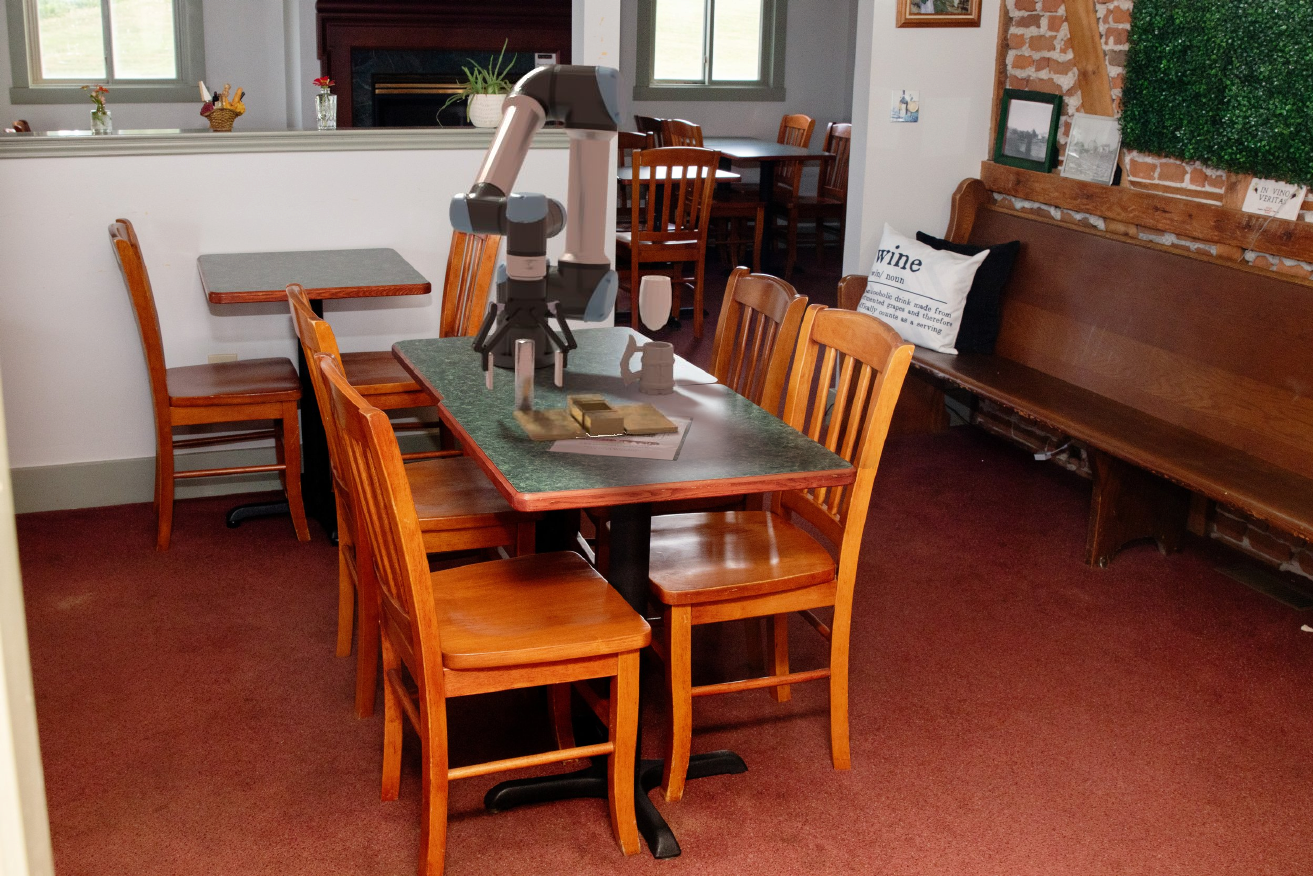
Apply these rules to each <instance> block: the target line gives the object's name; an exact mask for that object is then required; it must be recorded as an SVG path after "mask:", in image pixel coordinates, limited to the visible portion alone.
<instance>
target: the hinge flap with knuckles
mask: <svg viewBox="0 0 1313 876" xmlns="http://www.w3.org/2000/svg"><path fill="white" fill-rule="evenodd" d="M566 398H567V401H566V412H567V413H568V414H569V415H570V416H571V417H572V403H574V402H595V401H606V399H605V398H604V397H603V396H602V395H600V394H599V393H597V394H596V393H595V394H594V393H593V394H572V395H571V394H570V395H566ZM612 406H613V407H615V408H616V409H617V410H618V413H620V414H621V415H622V416H623V417H624V431H625V432H626V433H627V434H633V435H645V434H646V435H647V434H649V435H650V434H663V433H665V432H666V433H667V434H668V433H678V431H679V426H678V425H676V424H675V423H674V422H673V421H672V420H670V419H669V418H668V417H667V416H666V415H664V414H663V413H662V412H661V411H660V410H659V409H657V408H656V407H654V406H653V405H652V404H651V403H642V404H641V403H639V404H625V405H624V404H623V405H621V404H620V405H612ZM626 433H625V434H626ZM627 434H626V435H627Z"/></svg>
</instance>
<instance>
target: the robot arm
mask: <svg viewBox="0 0 1313 876" xmlns="http://www.w3.org/2000/svg"><path fill="white" fill-rule="evenodd" d="M626 86H627V85H626V82H625V79H624V77H623V74H622V73H621V71H620V70H618V69H617V68H614V67H610V66H603V65H602V66H601V65H582V64H580V65H577V64H559V63H548V64H544V65H540V66H538V67H536V68H534V69H532V70H530V71H528V72H527V73H526V74H525V75H523V76H522V77H521V78H520V79H519V80H518V81H517V82H515V84H514V85H513V86H512V87H511V88H510V90H509V91H508V92H507V94H506V95H505V97H504V100H503V102H502V105H501V115H502V117H501V119H500V121H499V124H498V126H497V129H496V130H495V131H496V132H495V133H494V136H493V138H492V140H491V143H490V144H489V147H488V150H487V151H486V154H485V157H484V158H483V161H482V163H481V166H480V168H479V171H478V173H477V174H476V177H475V179H474V182H473V184H472V187H471V188H470V191H469V193H466V192H464V193H457V194H455V195H454V196H452V198H451V199H450V203H449V210H448V211H449V212H448V217H449V222H450V224H451V225H450V226H451V227H452V228H453V230H454V231H456V232H457V233H458V232H459V233H465V234H471V235H488V236H502V237H503V236H505V237H506V254H505V257H506V258H505V261H502V262H501V263H500V264H499V265H498V266H497V270H496V281H495V286H496V290H495V292H496V295H495V297H496V299H495V300H496V301H492V300H491V301H490V302H489V303H488V308H487V314H486V316H485V317H484V319H483V322H482V323H481V325H480V328H479V329H478V331H477V334H476V336H475V337H474V340H473V341H472V344H471V346H470V347H471V349H472V351H474V352H475V353H479V354H480V368H481V370H482V371H483V372H485V386H486V388H488V390H493V389H494V366H497V367H502V368H509V369H515V349H516V340H519V339H530V340H534V341H535V343H534V369H539V368H540V369H541V368H546V367H550V366H553V365H554V384H555V385H556V386H557V387H563V370H564V369H567V367H568V361H569V359H568V357H569V356H568V355H569V353H570V351H572V350H577V349H578V344H577V342H576V339H575V337H574V335H573V332H572V331H571V328H570V326H569V324H568V323H567V321H576V322H577V321H578V322H583V323H588V322H589V323H590V322H591V323H601V322H604V321H606V320H607V319H608V318H609V317H610V315H611V313H612V312H613V308H614V306H615V302H616V299H617V296H618V295H617V294H618V289H619V274H618V272H617V271H616V270H614V269H612V268H611V265H612V261H611V259H609V257H608V256H607V255H606V253H605V247H606V243H605V242H606V224H607V209H608V208H607V205H608V203H607V202H608V187H609V168H610V151H611V150H610V149H611V141H612V139H614V138H615V136H617V134H618V132H619V131H618V130H619V129H618V128H619V126H622V125H624V124H625V123H626V122H627V120H628V119H627V118H628V110H629V107H628V106H629V105H628V103H629V102H628V92H627V87H626ZM550 121H555V122H556V121H557V122H563V131H564V132H565V134H566V135H567V136H568V138H569V154H568V155H569V156H568V157H569V158H568V161H569V162H568V178H567V179H568V181H567V182H568V183H567V203H566V207H565V206H564V205H563V203H562V202H561V201H559V200H557V199H555V198H553V197H551V198H550V197H547V196H546V195H545V194H544V193H543V194H542V193H537V192H514V193H513V192H512V191H513V188H514V186H515V183H516V180H517V179H518V176H519V174H520V171H521V169H522V166H523V164H524V161H525V159H526V156H527V154H528V152H529V150H530V147H531V145H532V143H533V139H535V138H534V137H535V135H536V133H537V132H538V131H540V130H541V129H542V128H543V127H544V126H545V124H546V122H550ZM564 229H565V245H564V247H565V248H564V252H563V253H561V254H560V255H559V256H558V257H557V265H551V261H550V258H549V257H547V251H548V250H547V248H548V247H547V242H548V241H547V240H548V239H552V238H554V237H556V236H558V235H559V234H560V233H561V232H562V231H563V230H564ZM549 319H555V320H556V322H557V323H558V326H559V328H560V330H561V333H562V334H563V337H564V338H565V340H566V343H565V342H564V341H563V340H562V339H561V338H560V336H559V335H558V334H557V333H556V332H555V330H554V329H553V328H552V327H551V326H550V325H549ZM495 321H496V322H495ZM494 323H495V330H494V332H493V333H492V334H491V335H490V336H489V338H488V339H487V336H488V334H489V333H490V331H491V330H492V327H493V325H494ZM485 341H486V342H485ZM554 344H555V345H556V346H557V348H558V349H559V350H555V346H554Z"/></svg>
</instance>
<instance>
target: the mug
mask: <svg viewBox="0 0 1313 876" xmlns="http://www.w3.org/2000/svg"><path fill="white" fill-rule="evenodd" d="M674 348H675V347H674V345H673V344H672V343H670V342H665V341H647V342H645V343H643V345H637V340H636V339H635V337H634V335H633V334H629V335H628V340H627V344H626V347H625V350H624V353H623V355H622V357H621V360H620V362H619V366H620V376H621V380H622V381H624V385H625V386H630V385H631V384H632V383H633V382H634V381H636V380H638V382H637V383H638V386H639V391H640V392H642V393H644V394H647V395H657V396H659V395H663V396H664V395H669V394H672V393H673V392H674V387H675V385H676V380H675V378H674V364H675V362H676V359H675V357H674V354H675V353H674ZM635 353H642V355H641V357H640V363H641V368H640V369H639V370H636V371H633V372H632V370H631V369H630V361H631V358H633V356H634V354H635Z"/></svg>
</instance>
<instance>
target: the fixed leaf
mask: <svg viewBox="0 0 1313 876" xmlns="http://www.w3.org/2000/svg"><path fill="white" fill-rule="evenodd" d="M613 406H614V405H612V404H611V403H610V402H609V401H608V400H605V401H595V402H574V403H572V417H571V416H570V415H569V414H568V413H567V410H566V409H564V408H556V409H535V410H534V409H533V410H532V411H515V410H513V411H512V417H513V418H514V420H515V421H516V422H517V424H519V426H520V427H521V429H522V430H523V431H524V433H526V434H527V435H528V437H529V438H530V439H531V441H532V442H536V441H537V442H539V441H540V442H541V441H555V440H556V441H557V440H572V439H571V438H576V437H586V438H587V434H586V433H588V434H589V435H590V436H598V435H614V434H615V435H617V434H623V435H624V432H623V431H624V417H623V416H622V415H621V414H620V413H618V410H617V409H616V408H615V407H613ZM576 439H577V438H576Z"/></svg>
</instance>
